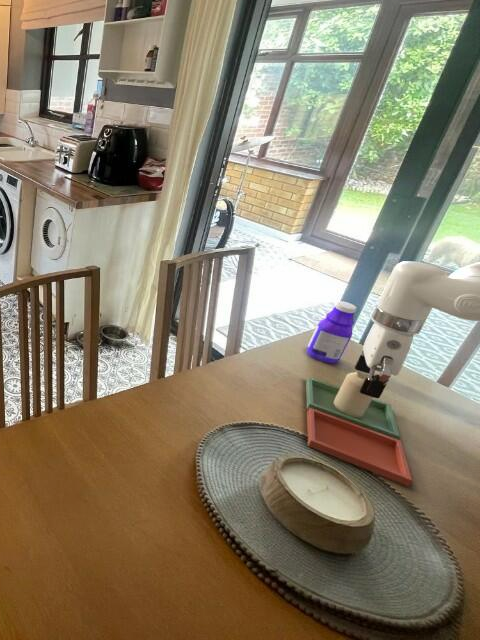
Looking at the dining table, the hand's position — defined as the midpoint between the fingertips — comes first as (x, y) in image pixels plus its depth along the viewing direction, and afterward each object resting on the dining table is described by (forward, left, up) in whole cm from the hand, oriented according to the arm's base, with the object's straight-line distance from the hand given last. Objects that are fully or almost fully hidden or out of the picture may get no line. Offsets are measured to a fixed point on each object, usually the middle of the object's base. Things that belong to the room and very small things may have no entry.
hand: (366, 382), depth 93 cm
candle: (+1, 0, -9) cm, 9 cm away
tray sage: (+1, 0, -9) cm, 9 cm away
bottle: (+5, -22, -9) cm, 24 cm away
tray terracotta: (+1, +13, -9) cm, 16 cm away
